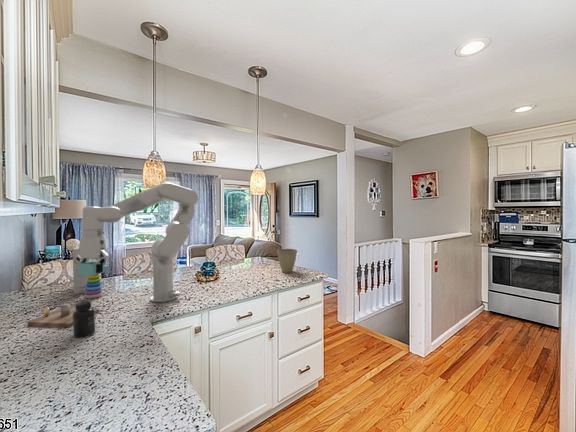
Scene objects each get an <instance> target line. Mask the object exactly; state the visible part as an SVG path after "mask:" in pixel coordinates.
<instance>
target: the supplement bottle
mask: <svg viewBox="0 0 576 432" xmlns="http://www.w3.org/2000/svg"><path fill="white" fill-rule="evenodd" d="M74 308H75V309H76V311H75V312H74V313H73V325H72V331H73V336H74V337H75V338H85V337H89V336H91V335H93V334H94V333H95V332H96V314H95V311H94V309H95V308H94V307H92V302H91V301H90V300H84V301H79V302H77V303H75V307H74Z"/></svg>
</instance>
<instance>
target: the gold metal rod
mask: <svg viewBox="0 0 576 432" xmlns="http://www.w3.org/2000/svg"><path fill="white" fill-rule="evenodd" d="M49 313H50V307H49V306H48V307H45V308H44V315H45V317H48V316H49Z"/></svg>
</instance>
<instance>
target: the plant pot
mask: <svg viewBox="0 0 576 432" xmlns="http://www.w3.org/2000/svg"><path fill="white" fill-rule="evenodd" d="M276 251H277V252H276V253H277V258H278V262H279V266H280V269H281V272H282V273H292V272H293V270H294V267H295V264H296V259H297V256H298V255H297V254H298V249H295V248H294V249H293V248H278V249H277V250H276Z"/></svg>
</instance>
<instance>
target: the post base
mask: <svg viewBox="0 0 576 432" xmlns="http://www.w3.org/2000/svg"><path fill="white" fill-rule="evenodd" d="M70 306H71V305H70V303H63V304H61V305H60V308H58V309H56V310H53V311H51V312H49V316H48V317H45V314H43V315H41V316H39V317H36V318H34V319H32V320H30V321H27V326H29V327H32V326H33V327H52V328H53V327H57V328H71V327H73V313H74V312H75V311H76V309H75V308H76V307H70ZM93 309H94V311H95V315H96V314H98V313H100V308H93Z"/></svg>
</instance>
